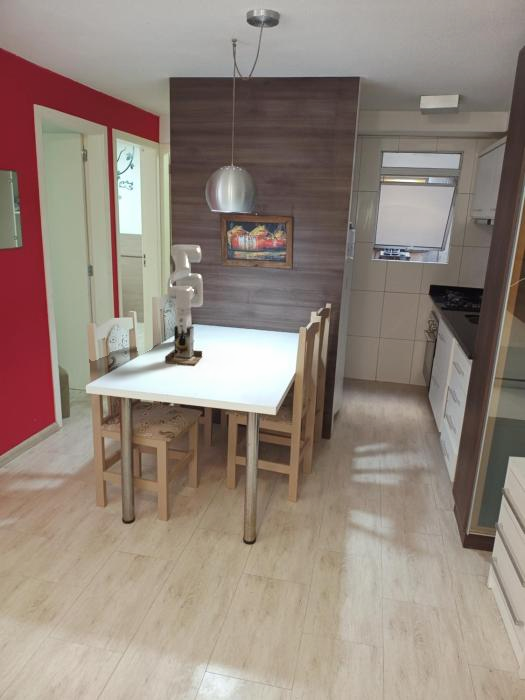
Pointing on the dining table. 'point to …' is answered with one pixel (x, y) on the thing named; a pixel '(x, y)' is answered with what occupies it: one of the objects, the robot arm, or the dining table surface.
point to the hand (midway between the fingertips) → (184, 343)
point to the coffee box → (188, 348)
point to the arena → (183, 358)
